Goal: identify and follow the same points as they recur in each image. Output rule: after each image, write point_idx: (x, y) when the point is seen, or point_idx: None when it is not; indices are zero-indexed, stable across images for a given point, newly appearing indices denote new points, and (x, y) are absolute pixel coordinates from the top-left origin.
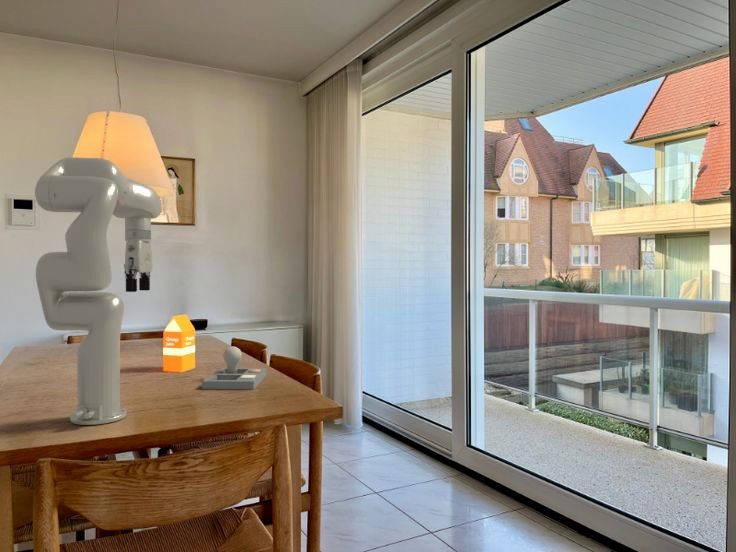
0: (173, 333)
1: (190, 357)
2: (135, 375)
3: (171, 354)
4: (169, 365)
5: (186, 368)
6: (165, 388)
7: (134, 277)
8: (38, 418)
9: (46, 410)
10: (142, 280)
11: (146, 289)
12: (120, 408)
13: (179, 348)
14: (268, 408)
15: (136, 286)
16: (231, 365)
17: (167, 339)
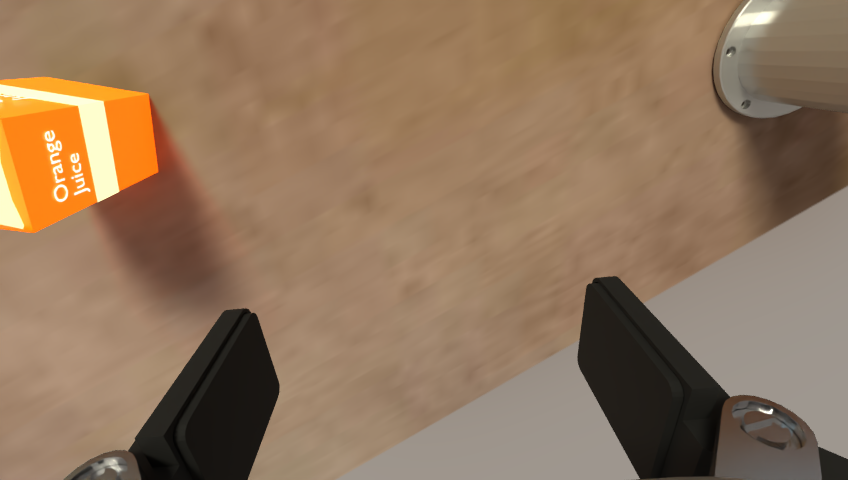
0: (25, 170)
1: (41, 86)
2: (255, 226)
3: (110, 154)
4: (141, 152)
5: (107, 89)
6: (422, 24)
7: (761, 416)
8: (735, 198)
9: (664, 223)
10: (228, 467)
11: (260, 332)
12: (747, 11)
13: (80, 118)
14: None
15: (639, 307)
16: None
17: (62, 194)
